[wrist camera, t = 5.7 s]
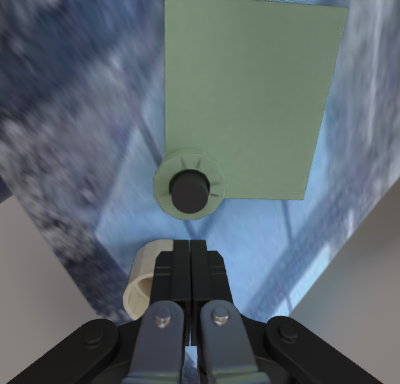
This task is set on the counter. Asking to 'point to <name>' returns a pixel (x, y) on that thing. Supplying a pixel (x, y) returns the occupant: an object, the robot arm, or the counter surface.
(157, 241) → the bowl
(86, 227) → the counter surface
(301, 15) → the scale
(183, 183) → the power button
